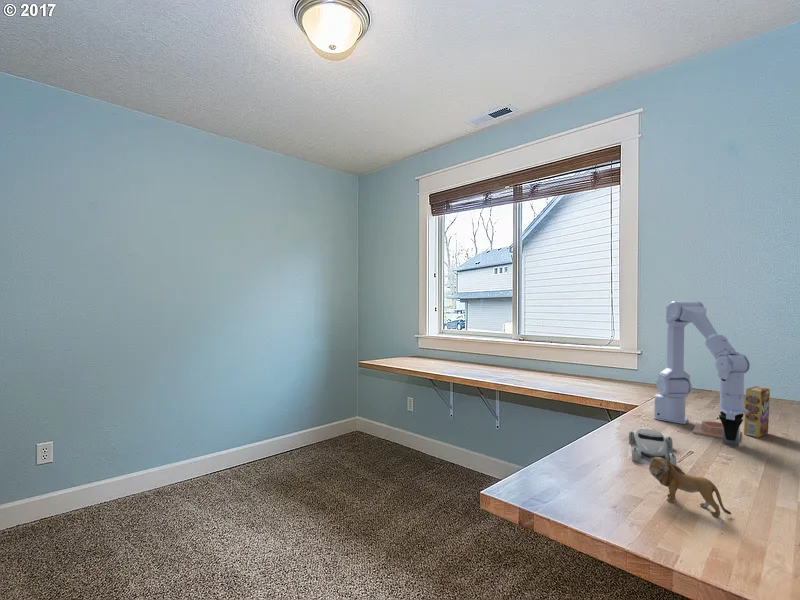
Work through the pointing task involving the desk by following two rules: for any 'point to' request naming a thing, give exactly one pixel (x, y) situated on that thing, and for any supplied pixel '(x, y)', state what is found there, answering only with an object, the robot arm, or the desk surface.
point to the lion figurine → (684, 483)
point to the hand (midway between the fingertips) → (730, 438)
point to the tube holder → (710, 429)
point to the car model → (650, 446)
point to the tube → (730, 442)
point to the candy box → (757, 411)
